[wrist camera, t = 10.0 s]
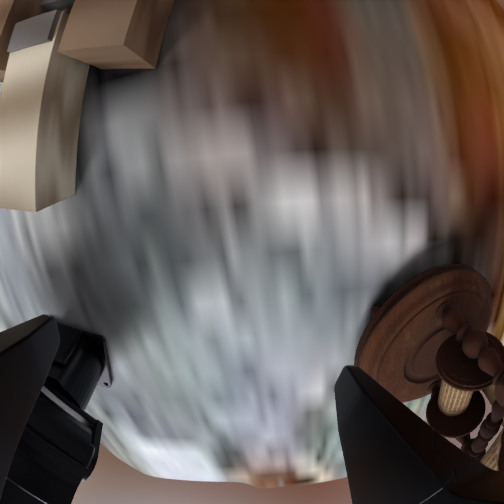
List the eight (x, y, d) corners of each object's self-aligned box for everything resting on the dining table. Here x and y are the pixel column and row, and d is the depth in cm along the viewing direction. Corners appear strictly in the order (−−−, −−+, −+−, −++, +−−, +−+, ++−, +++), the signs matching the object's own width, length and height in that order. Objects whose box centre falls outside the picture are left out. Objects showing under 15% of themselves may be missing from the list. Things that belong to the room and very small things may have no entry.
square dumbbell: (155, 68, 15) (123, 44, 10) (7, 82, 13) (-38, 79, 8) (180, -17, 12) (162, -59, 7) (28, 9, 11) (-10, -6, 6)
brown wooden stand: (468, 351, 25) (552, 473, 6) (355, 403, 26) (408, 568, 8) (482, 235, 20) (643, 361, 1) (337, 291, 21) (461, 564, 2)
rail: (76, 194, 18) (30, 214, 13) (37, 190, 17) (-10, 209, 12) (100, 28, 13) (61, 3, 8) (58, 35, 13) (15, 18, 8)
